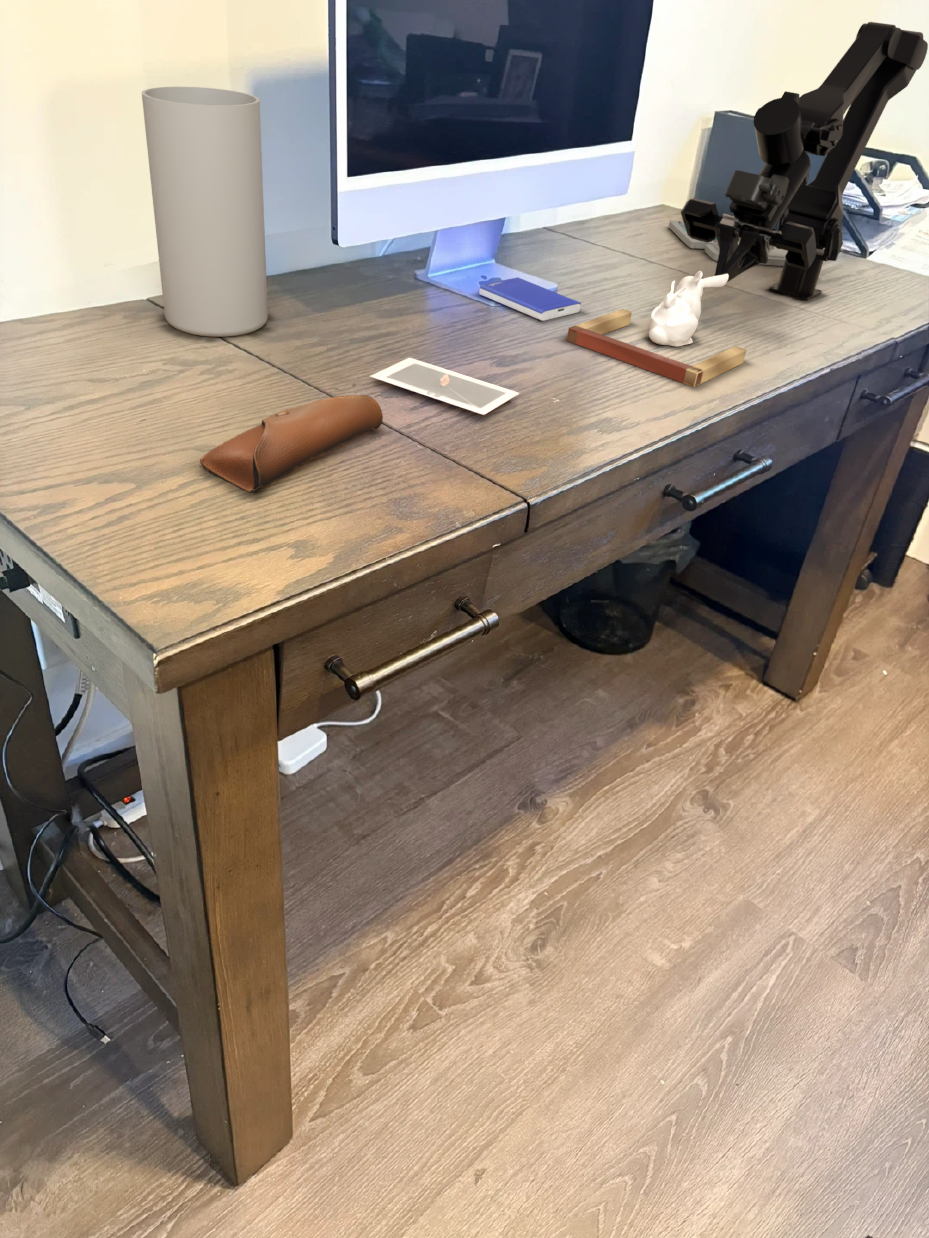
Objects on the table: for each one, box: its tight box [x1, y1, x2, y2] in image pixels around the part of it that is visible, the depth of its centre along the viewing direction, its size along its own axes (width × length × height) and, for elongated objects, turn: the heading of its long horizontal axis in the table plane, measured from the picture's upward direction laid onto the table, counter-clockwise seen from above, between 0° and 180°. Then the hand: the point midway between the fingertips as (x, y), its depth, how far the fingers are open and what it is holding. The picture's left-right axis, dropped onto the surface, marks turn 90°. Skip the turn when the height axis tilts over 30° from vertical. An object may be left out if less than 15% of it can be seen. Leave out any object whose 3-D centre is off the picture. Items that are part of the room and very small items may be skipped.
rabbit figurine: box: [648, 270, 729, 347], centre depth 123 cm, size 12×8×10 cm, turn 139°
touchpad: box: [369, 357, 520, 416], centre depth 104 cm, size 8×15×2 cm, turn 58°
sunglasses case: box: [199, 394, 384, 493], centre depth 89 cm, size 18×7×7 cm, turn 147°
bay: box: [566, 308, 747, 388], centre depth 121 cm, size 13×19×2 cm
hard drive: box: [478, 277, 582, 322], centre depth 133 cm, size 2×8×12 cm
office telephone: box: [668, 219, 788, 267], centre depth 170 cm, size 23×3×20 cm
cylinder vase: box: [141, 86, 269, 338], centre depth 110 cm, size 12×12×25 cm
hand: (716, 285), depth 127 cm, fingers closed
